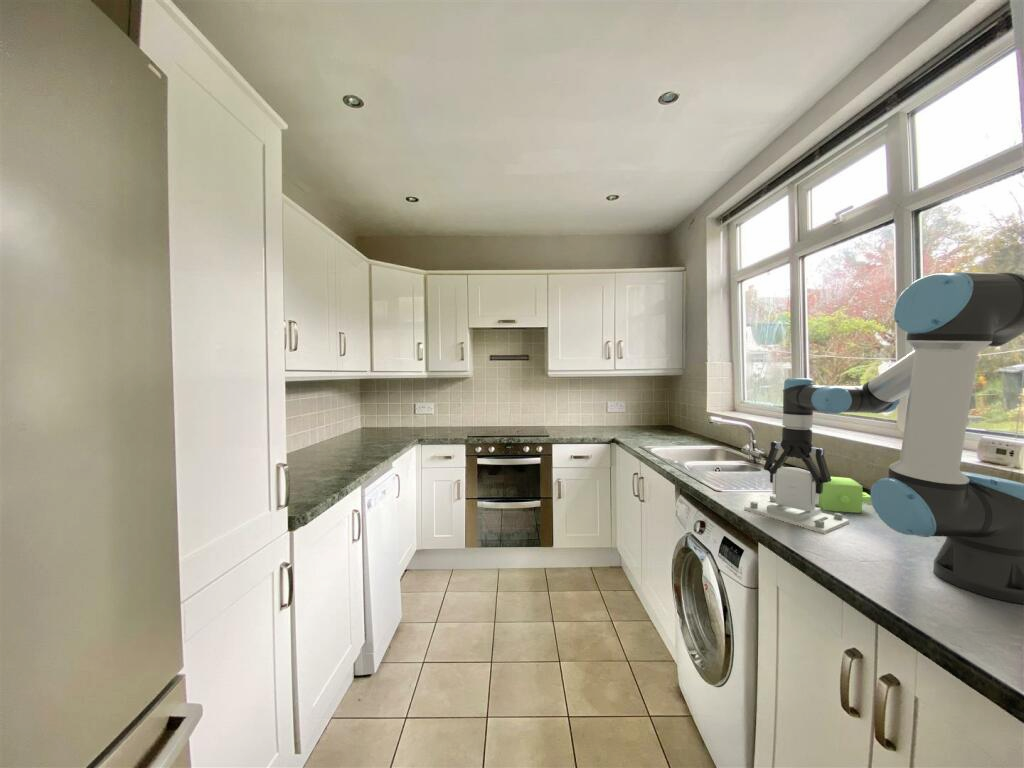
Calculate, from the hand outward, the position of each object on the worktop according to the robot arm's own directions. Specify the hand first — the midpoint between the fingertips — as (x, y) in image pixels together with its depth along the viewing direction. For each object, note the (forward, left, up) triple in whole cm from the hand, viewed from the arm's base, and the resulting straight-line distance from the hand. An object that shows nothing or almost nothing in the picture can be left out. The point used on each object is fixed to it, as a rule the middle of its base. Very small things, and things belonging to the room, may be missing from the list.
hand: (794, 498), depth 122 cm
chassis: (0, 0, -6) cm, 6 cm away
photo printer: (0, 0, -3) cm, 3 cm away
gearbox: (-3, -20, -6) cm, 21 cm away
